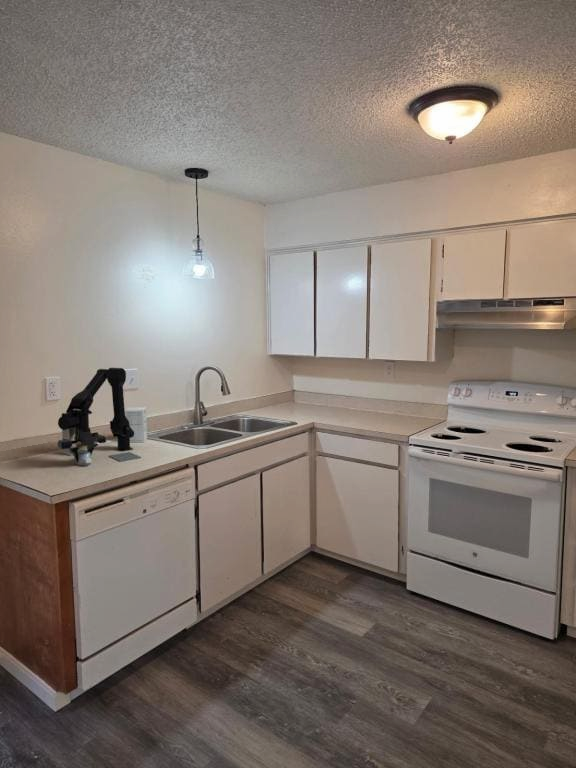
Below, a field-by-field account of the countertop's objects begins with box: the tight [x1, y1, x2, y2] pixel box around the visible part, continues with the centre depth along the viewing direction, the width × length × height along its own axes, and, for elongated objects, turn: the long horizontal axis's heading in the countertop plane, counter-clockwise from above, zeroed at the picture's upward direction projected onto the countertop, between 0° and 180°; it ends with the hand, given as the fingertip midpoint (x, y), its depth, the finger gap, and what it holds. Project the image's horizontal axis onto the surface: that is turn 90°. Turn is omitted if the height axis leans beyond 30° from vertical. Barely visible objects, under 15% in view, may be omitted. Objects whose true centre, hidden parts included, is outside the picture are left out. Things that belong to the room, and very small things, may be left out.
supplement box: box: [125, 406, 148, 444], centre depth 260 cm, size 10×9×17 cm
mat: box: [108, 451, 142, 463], centre depth 228 cm, size 12×10×1 cm
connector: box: [75, 450, 93, 467], centre depth 216 cm, size 12×4×5 cm, turn 43°
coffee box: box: [61, 428, 87, 456], centre depth 234 cm, size 9×6×16 cm
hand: (83, 461), depth 217 cm, fingers open, 5 cm apart
